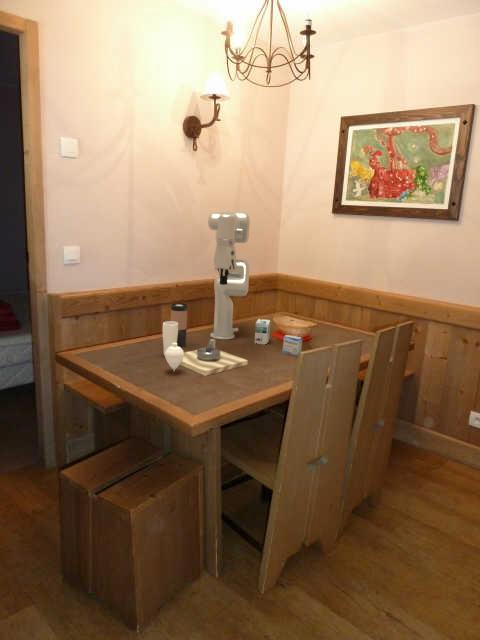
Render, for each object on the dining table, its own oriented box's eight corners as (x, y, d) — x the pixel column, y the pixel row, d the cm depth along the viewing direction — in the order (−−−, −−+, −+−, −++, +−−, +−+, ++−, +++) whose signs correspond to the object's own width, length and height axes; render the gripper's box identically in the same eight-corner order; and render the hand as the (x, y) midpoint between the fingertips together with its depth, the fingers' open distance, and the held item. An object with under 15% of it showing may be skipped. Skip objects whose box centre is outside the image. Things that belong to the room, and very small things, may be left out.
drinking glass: (174, 358, 203) (175, 325, 200) (159, 356, 204) (160, 323, 201) (179, 354, 209) (180, 322, 206) (165, 352, 211) (165, 320, 207)
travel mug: (187, 343, 227) (188, 303, 222) (184, 348, 219) (185, 306, 215) (172, 342, 227) (173, 302, 223) (168, 346, 220) (169, 305, 215)
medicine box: (282, 353, 220) (283, 336, 218) (285, 351, 224) (287, 334, 222) (297, 356, 217) (299, 339, 215) (301, 354, 220) (302, 337, 218)
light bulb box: (267, 345, 233) (268, 324, 231) (254, 343, 234) (255, 323, 232) (269, 339, 243) (270, 319, 241) (256, 338, 244) (258, 318, 242)
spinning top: (174, 367, 192) (175, 339, 189) (187, 371, 187) (188, 343, 185) (160, 371, 186) (161, 342, 183) (173, 376, 182) (174, 346, 179)
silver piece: (218, 361, 195) (219, 350, 194) (195, 360, 196) (195, 348, 194) (223, 349, 213) (223, 338, 212) (201, 347, 214) (202, 337, 213)
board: (210, 351, 217) (211, 346, 217) (247, 364, 201) (247, 359, 200) (169, 360, 201) (169, 355, 200) (205, 375, 184) (205, 370, 184)
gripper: (243, 244, 202) (240, 286, 206) (220, 241, 212) (218, 281, 216) (230, 244, 197) (228, 287, 201) (207, 241, 207) (206, 282, 211)
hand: (223, 284), depth 209 cm, fingers closed
